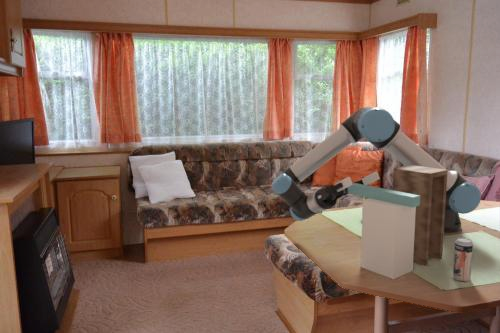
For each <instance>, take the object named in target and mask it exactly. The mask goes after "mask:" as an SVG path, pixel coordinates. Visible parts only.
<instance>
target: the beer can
mask: <svg viewBox="0 0 500 333" xmlns="http://www.w3.org/2000/svg"><path fill="white" fill-rule="evenodd" d="M473 247H474V243H473V241H472V239H469V238H465V237H458V238H457V239H456V240H455V241H454V255H453V271H452V277H453V279H455V280H456V281H459V282H469V281H470V280H471V273H472V261H473V250H474V249H473Z"/></svg>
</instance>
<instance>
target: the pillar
mask: <svg viewBox="0 0 500 333" xmlns="http://www.w3.org/2000/svg"><path fill="white" fill-rule="evenodd" d="M361 211H362V212H361V214H362V215H361V216H362V217H361V244H360V245H361V247H360V250H361V252H360V254H361V255H360V268H363V269H366V270H368V271H371V272H373V273H375V274H378V275H381V276H384V277H386V278H389V279H392V280H395V279H397V278H400V277H402V276H404V275H407V274H409V273H411V272H413V269H414V268H413V267H414V263H413V254H414V234H415V214H416V207H413V208H412V207H408V206H403V205H399V204H394V203H390V202H385V201H380V200H376V199H371V198H368V199H362V210H361Z"/></svg>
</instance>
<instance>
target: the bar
mask: <svg viewBox="0 0 500 333" xmlns="http://www.w3.org/2000/svg"><path fill="white" fill-rule="evenodd" d="M352 183H353V185H351V186H349V187H348V193H349V194H348V195H354V196H357V197H358V196H359V197H367V198H371V199H376V200H380V201H385V202H390V203H394V204H399V205H403V206H408V207H412V208H413V207H417V206H420V195H415V194H409V193H404V192H399V191H394V190H393V189H387V188H383V187H377V186H372V185H369V186H368V185H363V184H357V183H354V182H352Z"/></svg>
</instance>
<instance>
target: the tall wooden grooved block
mask: <svg viewBox="0 0 500 333" xmlns="http://www.w3.org/2000/svg"><path fill="white" fill-rule="evenodd" d="M445 169H446V168H445ZM445 169H437V168H430V167H423V166H416V165H408V166H404V165H403V166H400V167H399V166H398V167H394V168H393V177H392V178H393V179H392V190H394V191H399V192H404V193H409V194H415V195H420V206H417V207H416V214H415V234H414V254H413V262H414V263H413V264H417V265H420V266H423V267H427V266H429V258H431V259H435V260H438V261H441V260H443V250H444V237H445V235H444V234H445V232H444V221H445V205H446V189H447V172H448V171H449V170H448V169H447V170H445Z"/></svg>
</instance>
